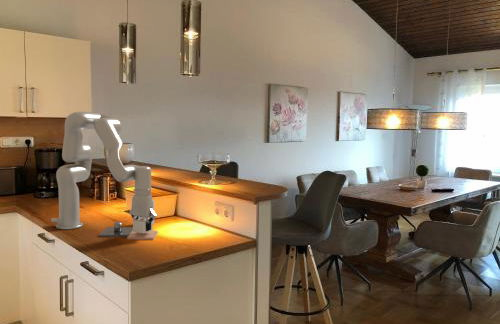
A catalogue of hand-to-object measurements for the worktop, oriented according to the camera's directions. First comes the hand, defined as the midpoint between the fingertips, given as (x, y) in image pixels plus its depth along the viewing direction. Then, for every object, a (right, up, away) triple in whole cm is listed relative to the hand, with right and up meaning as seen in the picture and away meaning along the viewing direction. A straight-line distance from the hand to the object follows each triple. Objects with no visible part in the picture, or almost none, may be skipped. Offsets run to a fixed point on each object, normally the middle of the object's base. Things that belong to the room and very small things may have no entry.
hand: (142, 229), depth 199 cm
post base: (-13, -3, +4) cm, 14 cm away
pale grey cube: (0, -1, 0) cm, 1 cm away
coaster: (0, -3, 0) cm, 3 cm away
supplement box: (-4, -1, +22) cm, 22 cm away
